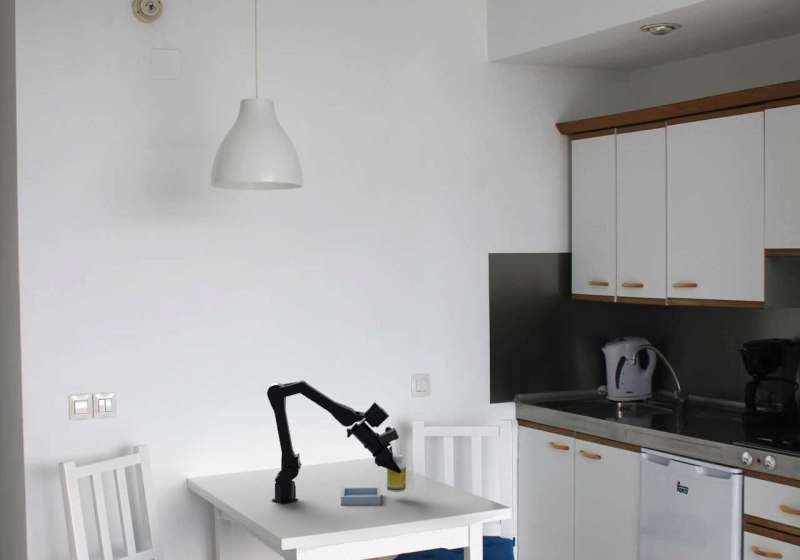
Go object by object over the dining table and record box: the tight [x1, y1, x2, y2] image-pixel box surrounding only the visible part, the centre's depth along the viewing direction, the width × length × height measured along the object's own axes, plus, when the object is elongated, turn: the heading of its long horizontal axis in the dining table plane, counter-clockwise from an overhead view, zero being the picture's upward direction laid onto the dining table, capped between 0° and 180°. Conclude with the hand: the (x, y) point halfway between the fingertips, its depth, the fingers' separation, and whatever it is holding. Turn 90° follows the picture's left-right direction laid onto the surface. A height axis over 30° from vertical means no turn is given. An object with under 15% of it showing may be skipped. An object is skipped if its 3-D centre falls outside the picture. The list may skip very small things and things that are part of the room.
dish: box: [340, 486, 381, 506], centre depth 308 cm, size 13×13×3 cm
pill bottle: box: [386, 453, 407, 493], centre depth 308 cm, size 6×6×12 cm
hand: (400, 470), depth 308 cm, fingers closed on pill bottle, 6 cm apart
